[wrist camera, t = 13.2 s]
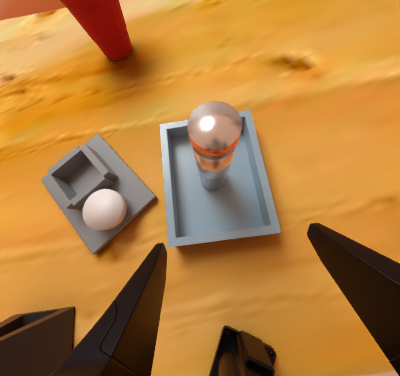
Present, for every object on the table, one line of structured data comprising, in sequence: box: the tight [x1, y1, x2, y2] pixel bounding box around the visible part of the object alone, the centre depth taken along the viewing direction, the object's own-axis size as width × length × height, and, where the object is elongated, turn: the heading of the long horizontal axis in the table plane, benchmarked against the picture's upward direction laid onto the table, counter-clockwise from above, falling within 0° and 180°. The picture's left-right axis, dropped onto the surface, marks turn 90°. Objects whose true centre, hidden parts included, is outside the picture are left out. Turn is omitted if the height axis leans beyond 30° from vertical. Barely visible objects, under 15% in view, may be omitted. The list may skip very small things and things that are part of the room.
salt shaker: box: [187, 101, 242, 191], centre depth 18 cm, size 4×4×13 cm
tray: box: [160, 110, 281, 247], centre depth 23 cm, size 18×14×4 cm
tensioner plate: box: [41, 134, 157, 254], centre depth 24 cm, size 16×12×4 cm
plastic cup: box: [61, 0, 132, 60], centre depth 28 cm, size 11×11×12 cm
